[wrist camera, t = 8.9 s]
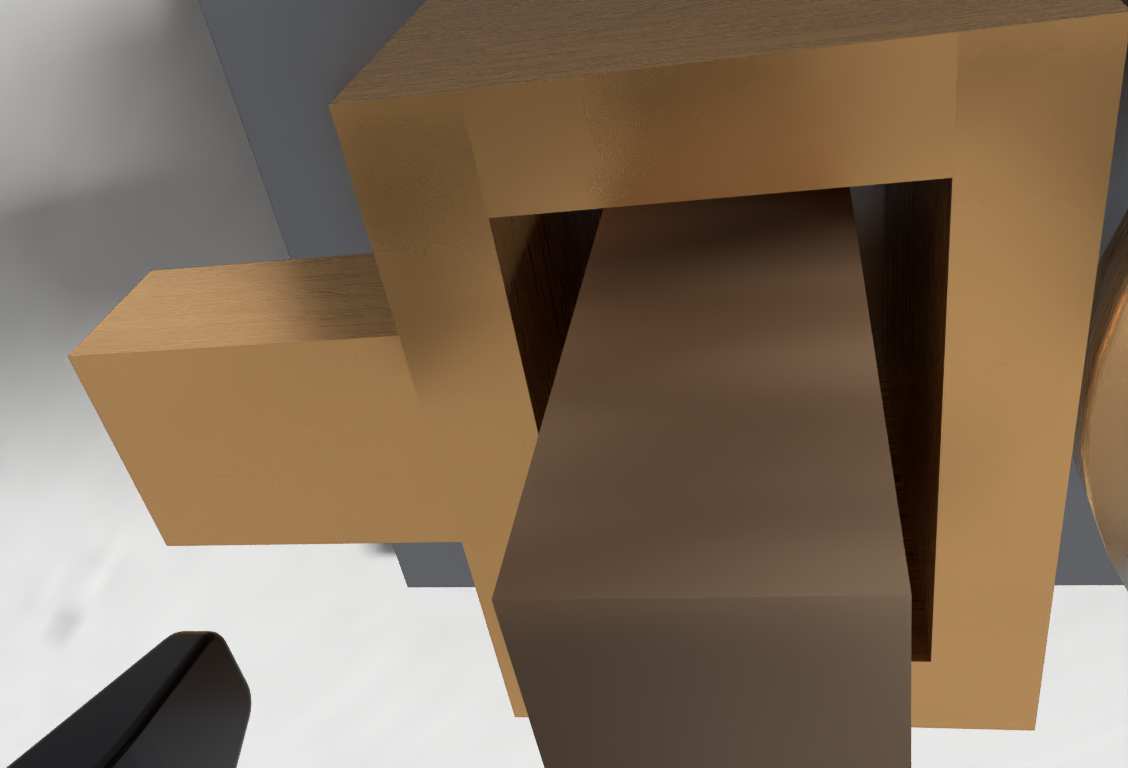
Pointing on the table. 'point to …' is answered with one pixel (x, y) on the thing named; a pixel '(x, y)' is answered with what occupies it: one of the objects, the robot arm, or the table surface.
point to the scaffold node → (560, 256)
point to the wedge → (714, 504)
